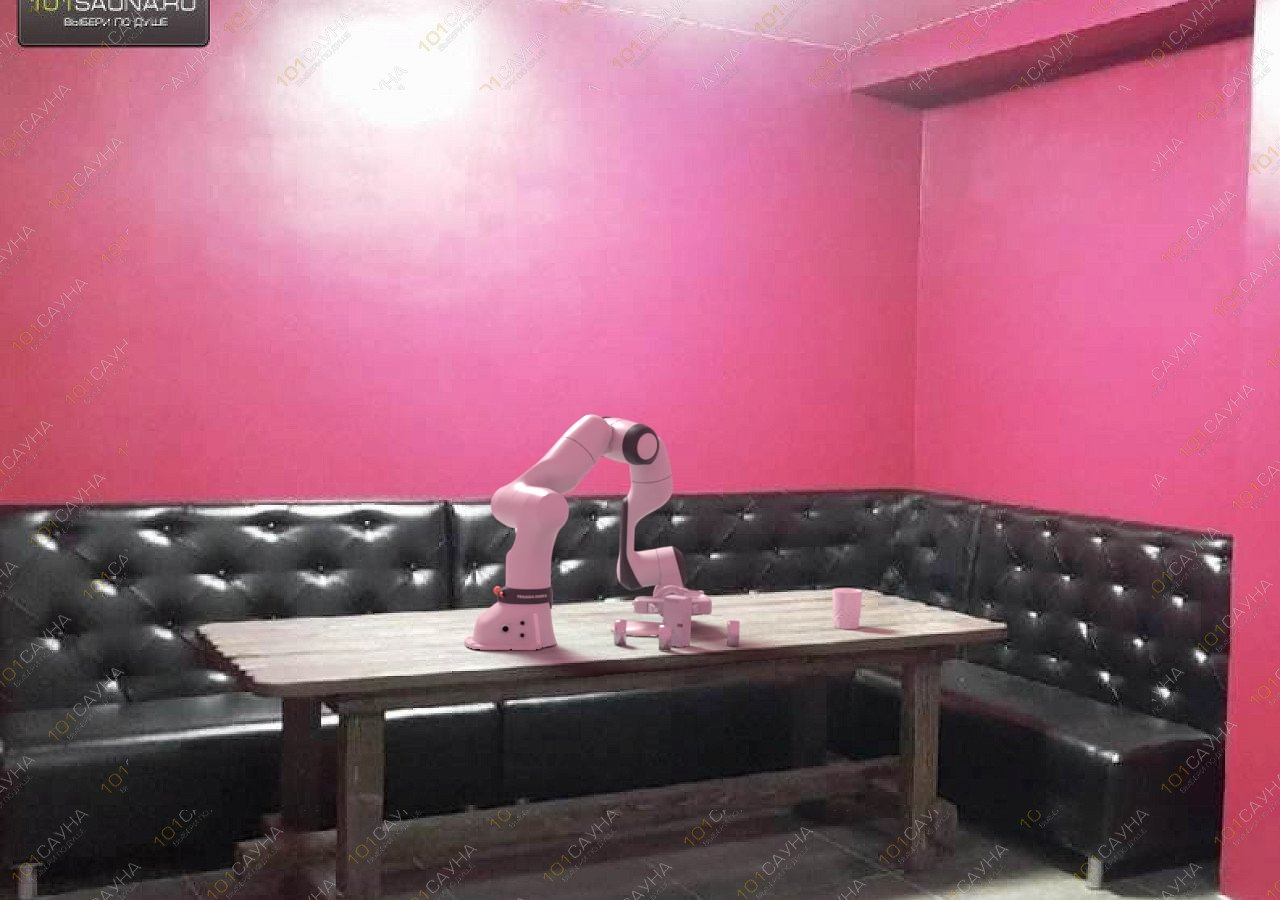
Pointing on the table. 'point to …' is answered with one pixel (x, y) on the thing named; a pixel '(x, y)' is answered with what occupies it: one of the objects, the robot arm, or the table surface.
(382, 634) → the table surface
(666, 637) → the posts
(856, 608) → the pink cup
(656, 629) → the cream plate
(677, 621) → the skincare box
